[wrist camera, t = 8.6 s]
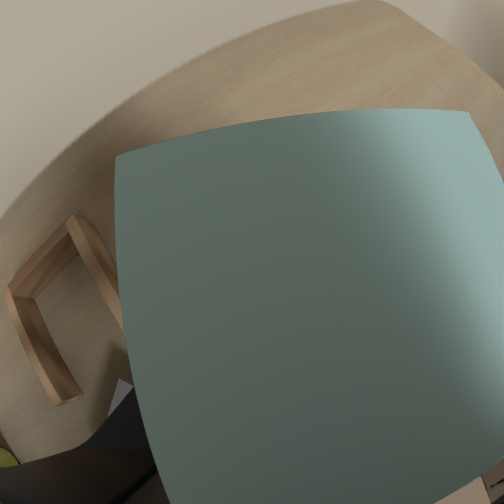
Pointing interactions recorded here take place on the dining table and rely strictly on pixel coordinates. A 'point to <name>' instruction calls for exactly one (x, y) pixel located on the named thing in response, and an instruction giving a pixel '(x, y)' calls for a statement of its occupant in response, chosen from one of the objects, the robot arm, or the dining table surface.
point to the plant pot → (7, 459)
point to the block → (316, 307)
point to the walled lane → (37, 277)
